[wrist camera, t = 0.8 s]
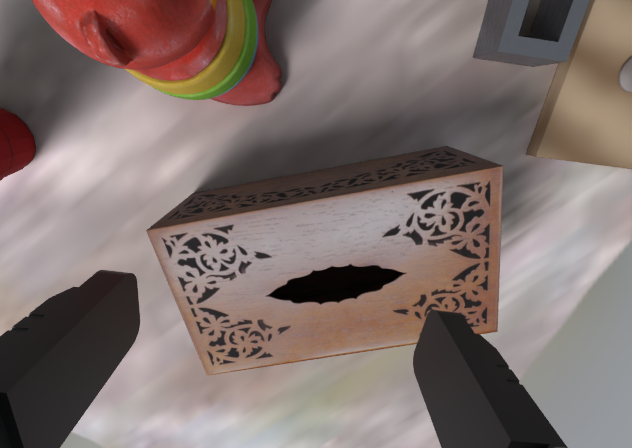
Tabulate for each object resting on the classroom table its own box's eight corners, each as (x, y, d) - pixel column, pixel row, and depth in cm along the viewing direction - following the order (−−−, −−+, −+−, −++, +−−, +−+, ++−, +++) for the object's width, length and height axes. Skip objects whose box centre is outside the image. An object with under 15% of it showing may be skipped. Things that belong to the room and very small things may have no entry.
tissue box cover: (446, 145, 31) (503, 166, 22) (449, 271, 36) (497, 331, 27) (193, 192, 32) (146, 230, 23) (232, 307, 38) (206, 375, 28)
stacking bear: (285, 102, 29) (249, 107, 13) (176, 112, 29) (1, 130, 13) (268, -43, 25) (184, -316, 9) (143, -31, 25) (-175, -273, 9)
